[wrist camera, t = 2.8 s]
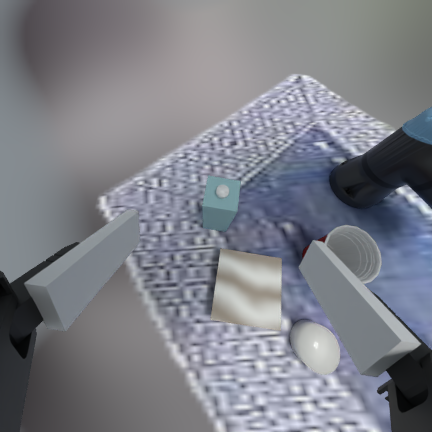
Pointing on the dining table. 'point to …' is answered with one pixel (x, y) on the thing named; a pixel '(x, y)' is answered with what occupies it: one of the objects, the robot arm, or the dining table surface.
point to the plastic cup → (354, 251)
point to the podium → (248, 290)
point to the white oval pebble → (315, 346)
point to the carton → (220, 203)
